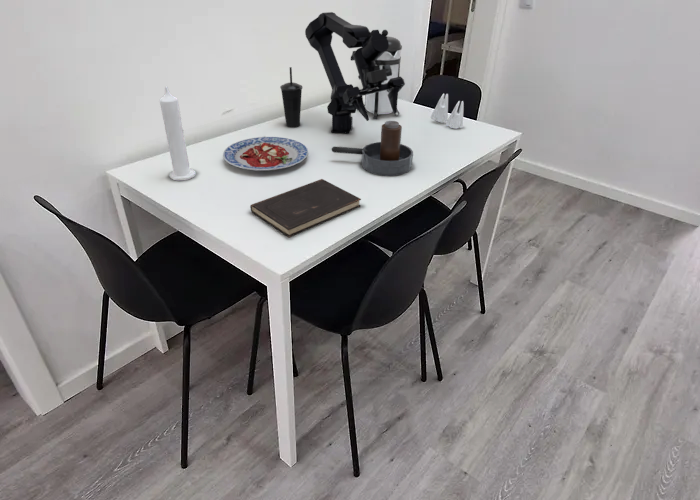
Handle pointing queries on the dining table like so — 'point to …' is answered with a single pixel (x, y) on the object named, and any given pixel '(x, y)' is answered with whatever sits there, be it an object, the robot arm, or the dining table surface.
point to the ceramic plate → (265, 153)
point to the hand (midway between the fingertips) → (381, 117)
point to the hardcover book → (305, 207)
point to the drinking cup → (292, 102)
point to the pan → (383, 167)
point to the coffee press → (380, 100)
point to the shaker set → (442, 113)
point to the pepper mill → (390, 141)
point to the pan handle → (348, 150)
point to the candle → (175, 138)
